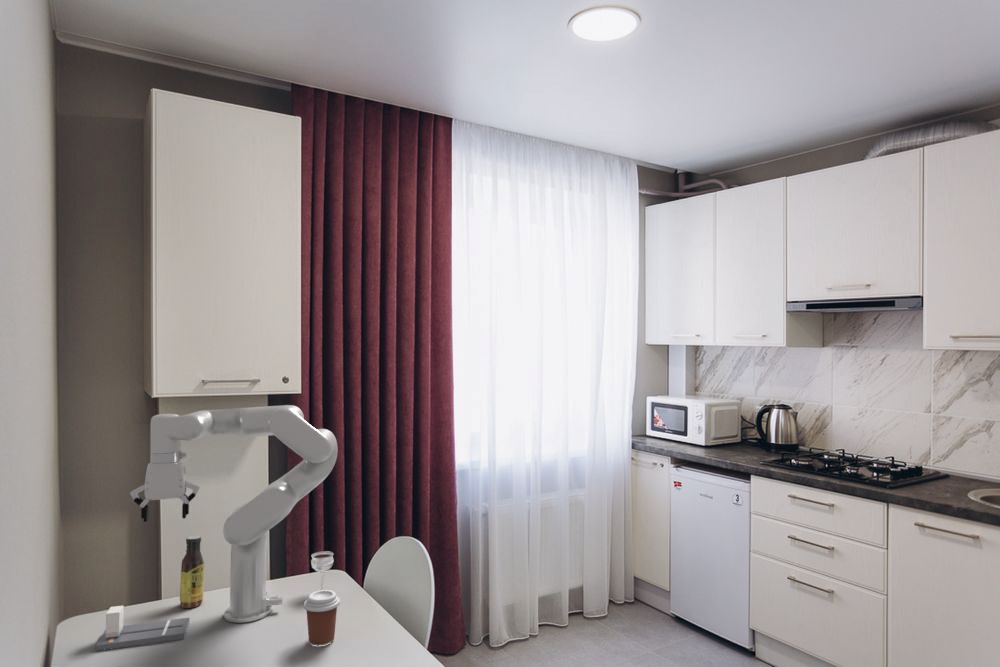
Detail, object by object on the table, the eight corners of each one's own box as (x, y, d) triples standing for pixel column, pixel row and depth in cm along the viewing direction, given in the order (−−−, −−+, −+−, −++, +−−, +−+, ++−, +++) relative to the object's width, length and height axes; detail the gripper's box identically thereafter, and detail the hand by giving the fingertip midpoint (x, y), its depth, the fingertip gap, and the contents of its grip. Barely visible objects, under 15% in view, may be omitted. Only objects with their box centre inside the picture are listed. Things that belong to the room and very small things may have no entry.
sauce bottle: (193, 610, 180) (194, 541, 180) (174, 608, 181) (175, 540, 181) (208, 601, 186) (209, 534, 186) (190, 599, 187) (191, 533, 188)
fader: (123, 627, 164) (123, 605, 164) (118, 636, 159) (119, 612, 159) (110, 629, 163) (110, 606, 163) (105, 637, 158) (105, 614, 158)
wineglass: (306, 597, 189) (307, 557, 189) (316, 588, 196) (317, 550, 196) (327, 598, 188) (327, 559, 188) (337, 590, 195) (337, 551, 195)
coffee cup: (301, 636, 164) (302, 591, 164) (336, 630, 167) (337, 586, 167) (305, 652, 155) (305, 604, 155) (342, 645, 159) (342, 598, 159)
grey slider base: (189, 622, 172) (189, 617, 172) (184, 639, 162) (184, 632, 162) (106, 633, 165) (106, 627, 165) (95, 651, 155) (95, 644, 155)
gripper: (201, 453, 181) (200, 512, 181) (133, 457, 175) (133, 518, 175) (198, 458, 174) (197, 519, 174) (127, 462, 168) (127, 525, 168)
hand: (165, 518), depth 174 cm, fingers open, 9 cm apart
